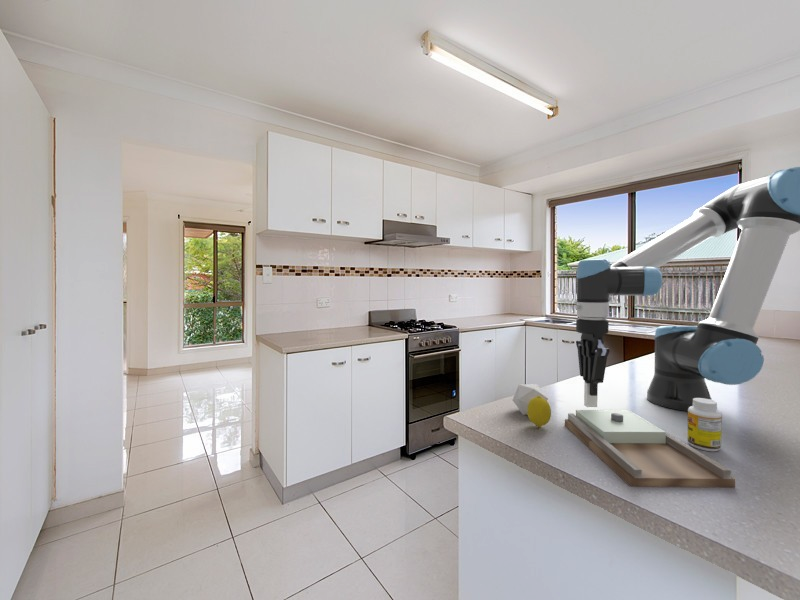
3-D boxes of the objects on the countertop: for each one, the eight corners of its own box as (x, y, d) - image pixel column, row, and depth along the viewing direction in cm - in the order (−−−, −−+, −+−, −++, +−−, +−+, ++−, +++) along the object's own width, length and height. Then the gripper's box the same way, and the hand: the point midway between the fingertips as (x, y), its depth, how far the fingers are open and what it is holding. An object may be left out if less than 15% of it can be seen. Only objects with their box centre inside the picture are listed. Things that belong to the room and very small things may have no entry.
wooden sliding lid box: (637, 425, 88) (637, 413, 88) (735, 487, 62) (735, 470, 61) (564, 424, 89) (564, 413, 89) (629, 486, 62) (630, 469, 62)
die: (543, 423, 92) (557, 391, 95) (513, 406, 93) (528, 374, 96) (531, 423, 100) (545, 392, 102) (504, 406, 101) (518, 377, 104)
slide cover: (628, 419, 88) (628, 405, 88) (665, 443, 75) (665, 426, 75) (575, 419, 89) (575, 405, 88) (603, 443, 76) (603, 426, 75)
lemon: (533, 421, 92) (533, 391, 92) (554, 427, 88) (554, 395, 88) (523, 427, 88) (523, 396, 88) (545, 434, 84) (545, 401, 84)
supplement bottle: (687, 438, 81) (688, 394, 80) (720, 445, 77) (721, 399, 77) (686, 447, 76) (687, 401, 76) (721, 455, 73) (722, 406, 72)
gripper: (566, 315, 99) (565, 398, 100) (590, 320, 86) (588, 415, 87) (594, 315, 99) (592, 398, 100) (621, 320, 86) (619, 415, 87)
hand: (590, 406), depth 94 cm, fingers closed
